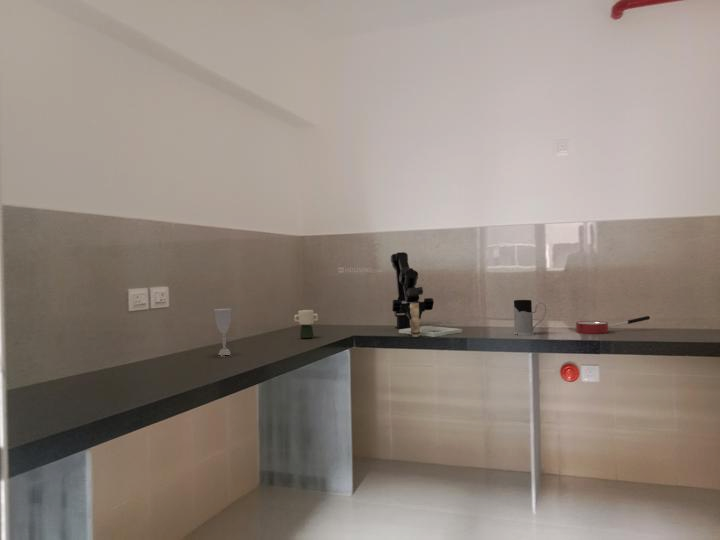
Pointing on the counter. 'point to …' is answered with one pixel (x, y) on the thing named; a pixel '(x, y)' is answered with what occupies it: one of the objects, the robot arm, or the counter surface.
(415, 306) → the beech peg
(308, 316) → the trophy cup
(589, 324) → the frying pan
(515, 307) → the grey mug
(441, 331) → the seat board
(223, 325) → the chalice
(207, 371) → the counter surface
